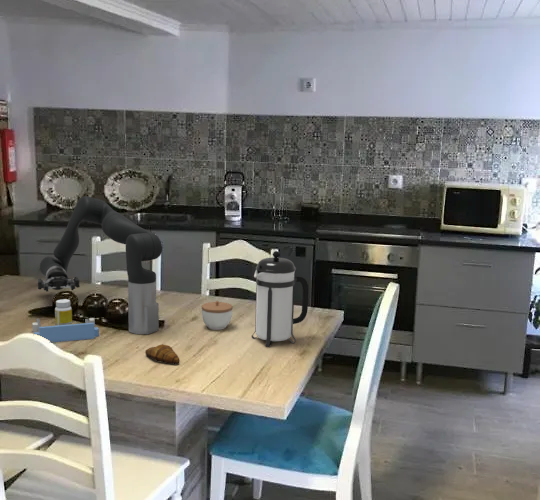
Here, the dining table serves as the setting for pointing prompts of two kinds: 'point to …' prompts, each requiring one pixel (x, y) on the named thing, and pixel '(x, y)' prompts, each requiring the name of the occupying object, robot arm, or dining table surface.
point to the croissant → (163, 354)
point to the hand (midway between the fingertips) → (60, 288)
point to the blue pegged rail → (67, 331)
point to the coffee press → (277, 299)
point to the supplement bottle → (63, 312)
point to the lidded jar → (217, 314)
